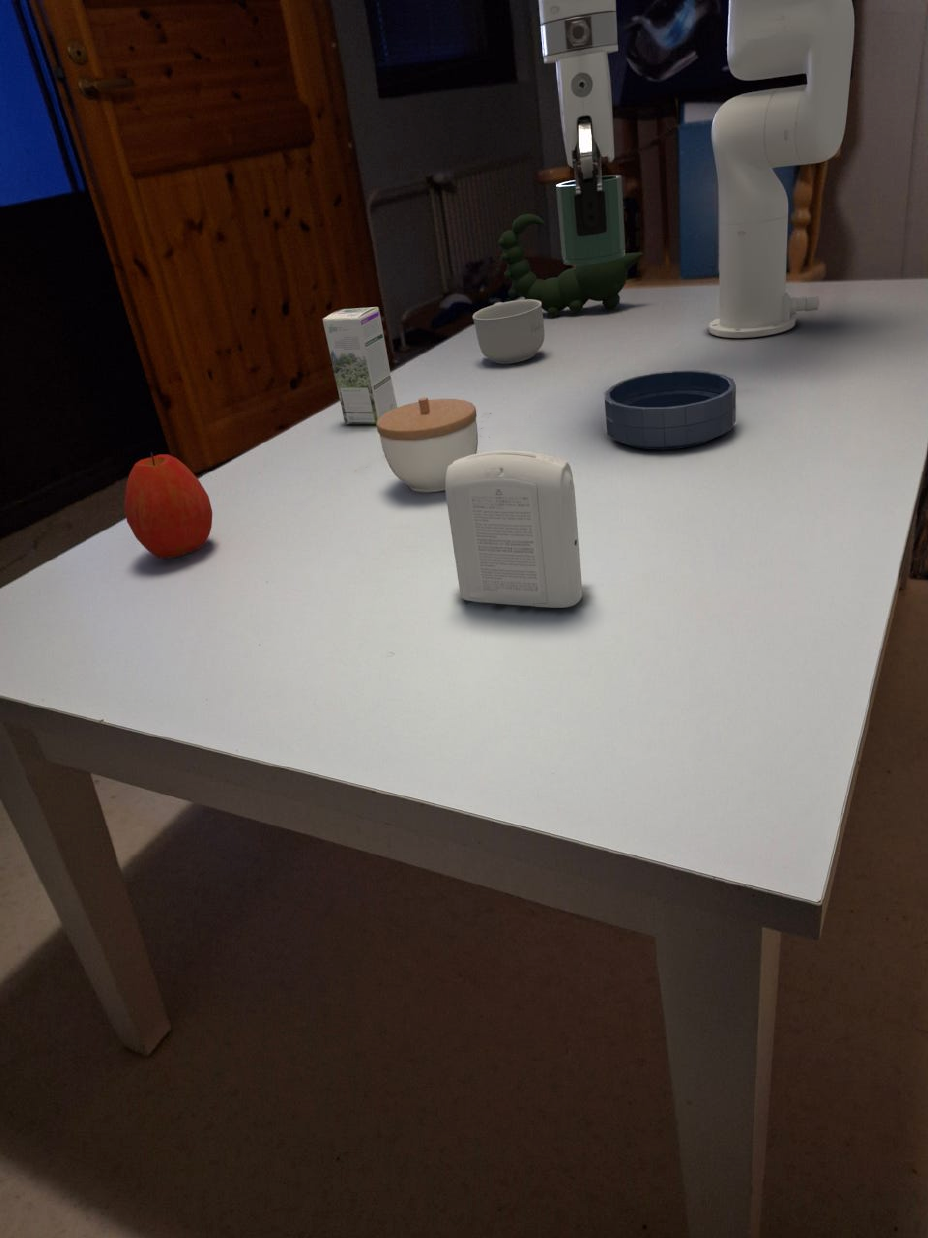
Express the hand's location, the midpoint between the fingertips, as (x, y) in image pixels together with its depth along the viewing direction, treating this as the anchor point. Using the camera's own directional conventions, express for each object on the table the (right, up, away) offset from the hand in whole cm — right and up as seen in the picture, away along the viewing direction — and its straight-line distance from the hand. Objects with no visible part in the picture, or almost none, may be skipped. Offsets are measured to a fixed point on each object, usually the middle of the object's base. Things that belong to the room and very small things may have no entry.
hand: (592, 227), depth 99 cm
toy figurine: (+6, +13, +67) cm, 69 cm away
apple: (-43, -37, -7) cm, 57 cm away
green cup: (0, -3, +2) cm, 3 cm away
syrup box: (-27, -16, +25) cm, 40 cm away
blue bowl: (+9, -22, +3) cm, 24 cm away
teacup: (-6, -1, +45) cm, 45 cm away
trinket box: (-17, -28, 0) cm, 33 cm away
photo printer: (-9, -42, -26) cm, 50 cm away
